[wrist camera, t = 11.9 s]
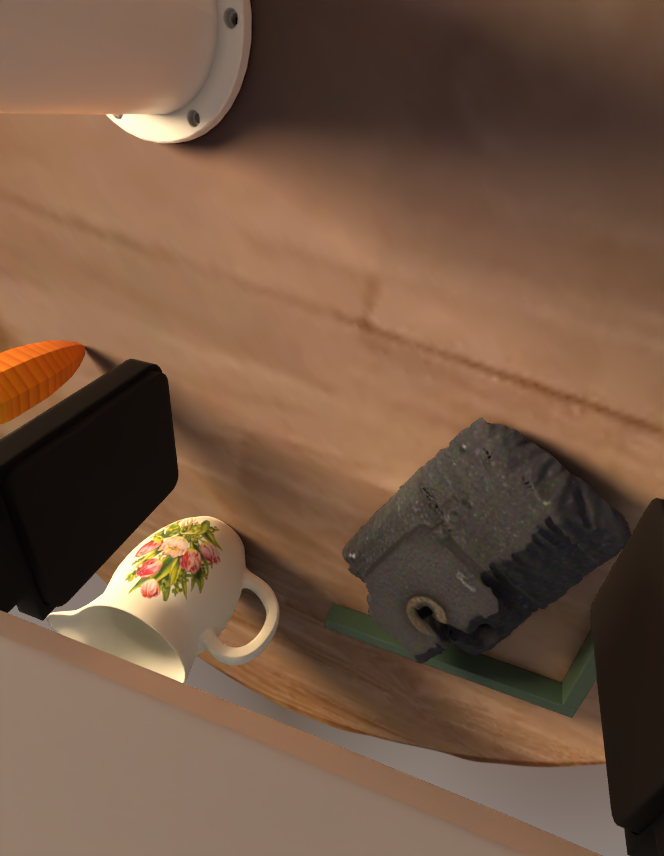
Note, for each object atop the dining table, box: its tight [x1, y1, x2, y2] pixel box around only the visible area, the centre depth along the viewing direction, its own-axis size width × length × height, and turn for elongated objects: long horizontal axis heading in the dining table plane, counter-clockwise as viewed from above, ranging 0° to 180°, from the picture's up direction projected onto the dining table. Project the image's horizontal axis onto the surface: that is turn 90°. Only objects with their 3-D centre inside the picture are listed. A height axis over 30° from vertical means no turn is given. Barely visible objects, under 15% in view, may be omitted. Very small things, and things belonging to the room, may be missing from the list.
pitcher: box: [47, 516, 280, 683], centre depth 46 cm, size 11×18×14 cm, turn 84°
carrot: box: [0, 341, 85, 425], centre depth 39 cm, size 5×5×15 cm
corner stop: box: [325, 603, 597, 718], centre depth 44 cm, size 23×13×2 cm, turn 86°
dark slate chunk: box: [342, 417, 631, 663], centre depth 39 cm, size 15×22×5 cm
